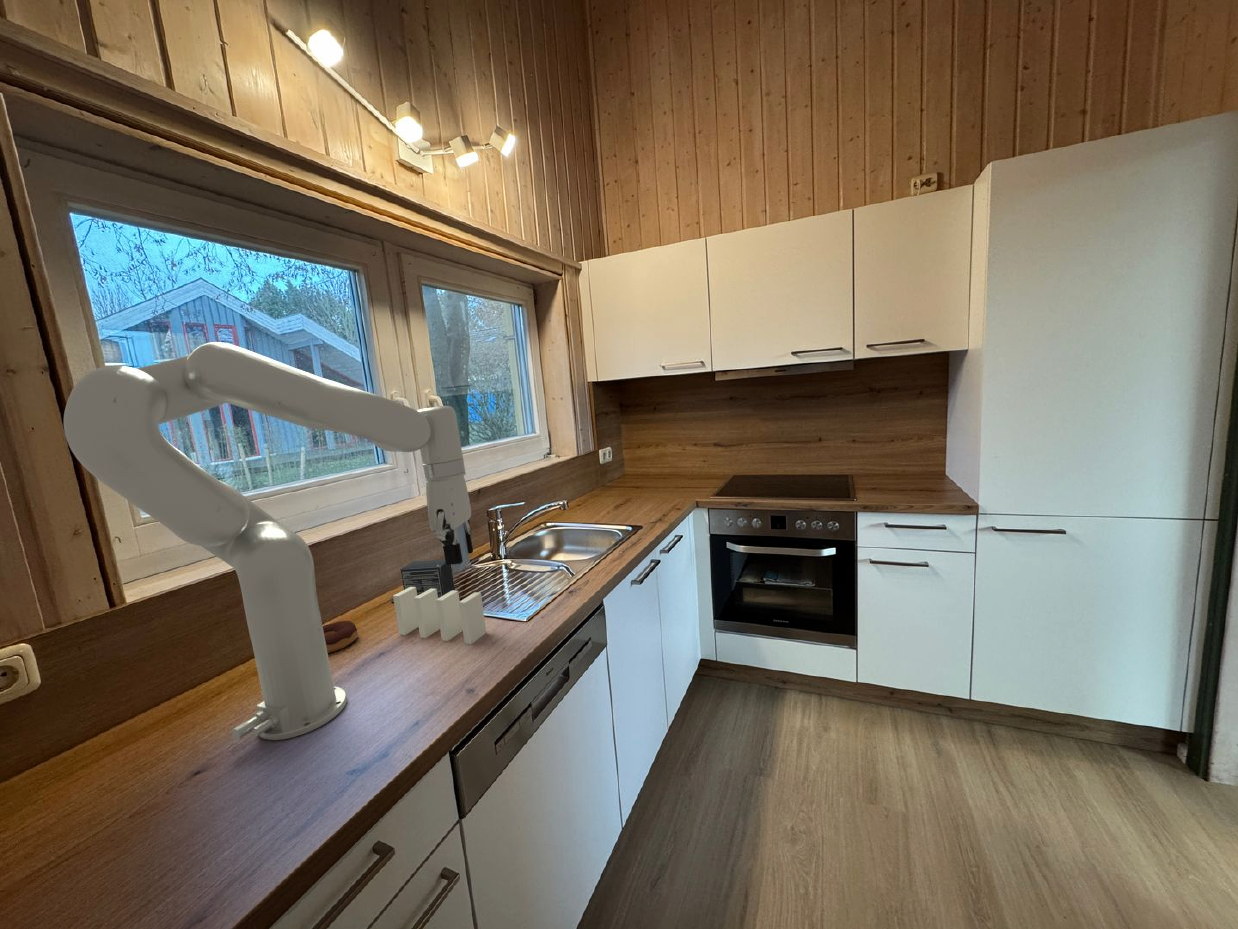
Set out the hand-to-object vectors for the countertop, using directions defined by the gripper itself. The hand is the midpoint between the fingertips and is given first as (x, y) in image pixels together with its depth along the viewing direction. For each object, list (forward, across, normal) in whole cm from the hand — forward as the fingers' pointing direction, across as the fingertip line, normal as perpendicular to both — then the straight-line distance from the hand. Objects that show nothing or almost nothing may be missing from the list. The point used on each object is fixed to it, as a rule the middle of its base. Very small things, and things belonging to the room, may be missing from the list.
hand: (460, 557), depth 99 cm
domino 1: (+18, -7, -17) cm, 26 cm away
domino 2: (+18, -5, -12) cm, 22 cm away
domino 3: (+2, 0, 0) cm, 2 cm away
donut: (+18, -2, -32) cm, 37 cm away
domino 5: (+18, -1, 0) cm, 18 cm away
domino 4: (+18, -3, -6) cm, 19 cm away
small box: (+19, -21, -19) cm, 34 cm away
